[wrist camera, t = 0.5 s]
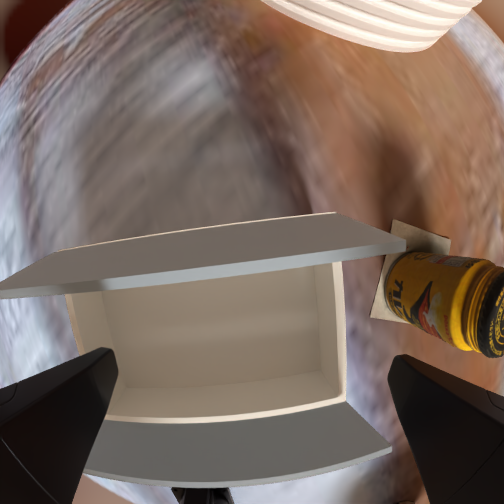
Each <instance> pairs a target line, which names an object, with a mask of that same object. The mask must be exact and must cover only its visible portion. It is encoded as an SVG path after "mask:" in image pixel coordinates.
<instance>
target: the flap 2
mask: <svg viewBox="0 0 504 504" xmlns="http://www.w3.org/2000/svg"><path fill="white" fill-rule="evenodd" d="M391 452H392V445H391V444H390V443H388V442H387V441H386V440H385V439H384V438H383V437H382V436H381V435H380V434H379V433H378V432H377V431H376V430H375V429H374V428H373V427H372V426H371V425H370V424H369V423H368V422H367V421H366V420H365V419H364V418H362V417H361V416H360V415H359V414H358V413H357V412H356V411H355V410H354V409H353V408H352V407H351V406H350V405H349V404H348V403H347V402H346V401H344V402H340V403H336V404H332V405H328V406H324V407H319V408H314V409H310V410H305V411H300V412H294V413H289V414H283V415H276V416H270V417H262V418H255V419H246V420H236V421H224V422H209V423H140V422H125V421H113V420H103V423H102V425H101V428H100V430H99V432H98V435H97V437H96V440H95V442H94V445H93V447H92V450H91V452H90V455H89V457H88V460H87V462H86V465H85V468H84V470H83V473H85V474H89V475H93V476H98V477H102V478H107V479H112V480H118V481H124V482H130V483H137V484H145V485H154V486H165V487H182V488H224V487H241V486H253V485H262V484H270V483H277V482H284V481H290V480H296V479H301V478H306V477H311V476H315V475H320V474H324V473H328V472H332V471H336V470H339V469H343V468H347V467H350V466H353V465H357V464H360V463H363V462H366V461H369V460H372V459H375V458H377V457H380V456H383V455H385V454H388V453H391Z"/></svg>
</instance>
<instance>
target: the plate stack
mask: <svg viewBox="0 0 504 504" xmlns="http://www.w3.org/2000/svg"><path fill="white" fill-rule="evenodd" d="M261 1H262V2H264V3H265V4H267V5H269V6H270V7H272V8H274V9H276V10H277V11H279V12H281V13H283V14H285V15H287V16H289V17H291V18H293V19H295V20H297V21H299V22H302V23H304V24H306V25H308V26H311V27H313V28H316V29H318V30H321V31H323V32H326V33H328V34H331V35H334V36H337V37H339V38H342V39H345V40H348V41H351V42H355V43H358V44H361V45H365V46H369V47H373V48H377V49H382V50H388V51H395V52H417V51H422V50H425V49H427V48H429V47H430V46H432V45H433V44H434V43H435V42H436V41H437V40H438V39H439V38H440V37H442V36H443V35H444V34H445V33H446V32H447V31H448V30H449V28H451V27H453V26H454V25H455V24H456V23H457V22H458V21H459V20H460V18H462V17H464V16H465V15H466V14H467V13H468V12H470V10H471V9H472V7H475V6H476V5H477V4H479V3H480V2H481V1H482V0H261Z"/></svg>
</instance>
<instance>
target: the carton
mask: <svg viewBox="0 0 504 504" xmlns="http://www.w3.org/2000/svg"><path fill="white" fill-rule="evenodd" d="M331 213H336V212H328V213H318V214H309V215H299V216H290V217H281V218H272V219H264V220H255V221H247V222H239V223H231V224H223V225H216V226H208V227H201V228H194V229H186V230H179V231H173V232H166V233H159V234H152V235H146V236H139V237H133V238H127V239H121V240H114V241H108V242H102V243H97V244H91V245H85V246H79V247H74V248H68V249H63V250H58V251H64V250H69V249H75V248H80V247H86V246H92V245H98V244H104V243H110V242H116V241H122V240H128V239H135V238H141V237H148V236H154V235H161V234H168V233H175V232H182V231H189V230H196V229H203V228H211V227H218V226H226V225H234V224H242V223H250V222H258V221H267V220H275V219H284V218H293V217H302V216H311V215H321V214H331ZM65 299H66V304H67V308H68V313H69V317H70V322H71V326H72V330H73V334H74V337H75V341H76V345H77V348H78V352H79V355H80V356H81V355H83V354H86V353H88V352H90V351H93V350H95V349H97V348H99V347H106V348H111V349H112V350H113V351H114V353H115V357H116V362H117V366H118V371H119V373H118V378H117V381H116V384H115V387H114V391H113V394H112V397H111V400H110V404H109V407H108V410H107V413H106V416H105V418H104V420H113V421H125V422H140V423H209V422H224V421H236V420H246V419H255V418H262V417H270V416H276V415H283V414H289V413H294V412H300V411H305V410H310V409H314V408H319V407H324V406H328V405H332V404H336V403H340V402H344V401H346V326H345V304H344V288H343V274H342V262H341V261H340V262H333V263H326V264H320V265H313V266H305V267H298V268H291V269H284V270H277V271H269V272H262V273H254V274H246V275H238V276H230V277H222V278H214V279H206V280H198V281H189V282H181V283H172V284H163V285H154V286H145V287H135V288H126V289H116V290H106V291H95V292H85V293H74V294H65Z"/></svg>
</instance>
